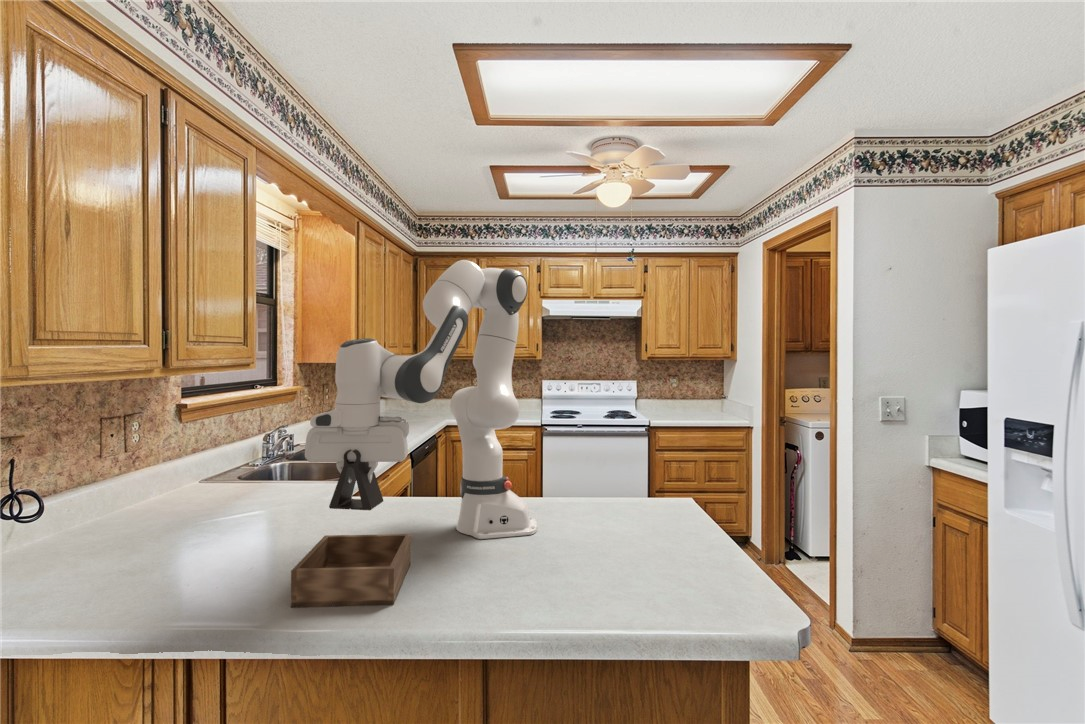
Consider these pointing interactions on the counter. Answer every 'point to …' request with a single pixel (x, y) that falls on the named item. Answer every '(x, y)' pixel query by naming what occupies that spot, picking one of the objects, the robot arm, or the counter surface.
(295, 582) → the walnut box
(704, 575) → the counter surface
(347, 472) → the phone stand
